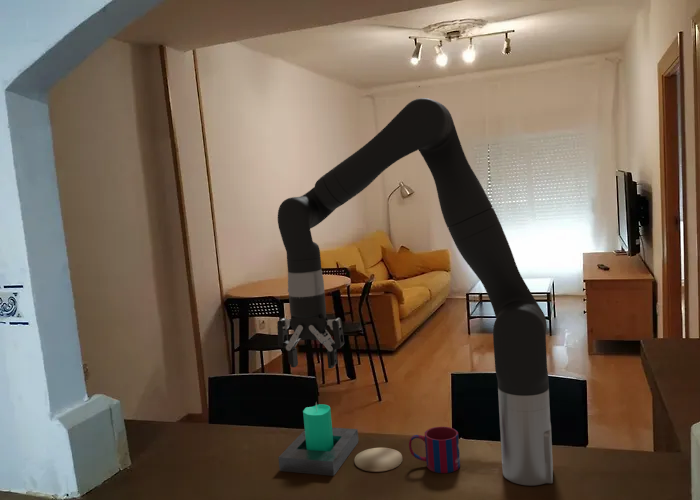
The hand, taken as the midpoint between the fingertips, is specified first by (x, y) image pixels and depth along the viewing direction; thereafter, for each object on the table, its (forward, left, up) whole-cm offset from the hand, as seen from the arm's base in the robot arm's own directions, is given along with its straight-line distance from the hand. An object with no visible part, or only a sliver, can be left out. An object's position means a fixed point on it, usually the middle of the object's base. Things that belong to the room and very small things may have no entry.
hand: (312, 366), depth 129 cm
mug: (-25, 0, -20) cm, 32 cm away
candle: (0, 0, -20) cm, 20 cm away
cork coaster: (-13, 0, -20) cm, 24 cm away
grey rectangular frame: (0, 0, -20) cm, 20 cm away
